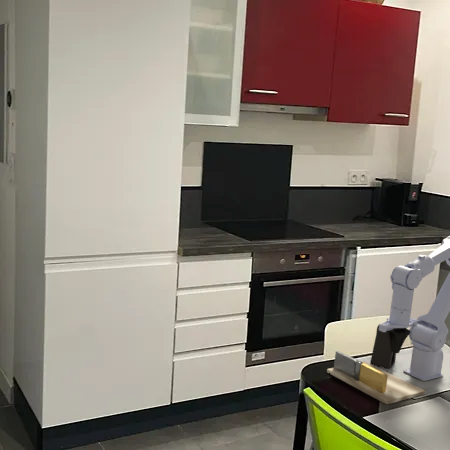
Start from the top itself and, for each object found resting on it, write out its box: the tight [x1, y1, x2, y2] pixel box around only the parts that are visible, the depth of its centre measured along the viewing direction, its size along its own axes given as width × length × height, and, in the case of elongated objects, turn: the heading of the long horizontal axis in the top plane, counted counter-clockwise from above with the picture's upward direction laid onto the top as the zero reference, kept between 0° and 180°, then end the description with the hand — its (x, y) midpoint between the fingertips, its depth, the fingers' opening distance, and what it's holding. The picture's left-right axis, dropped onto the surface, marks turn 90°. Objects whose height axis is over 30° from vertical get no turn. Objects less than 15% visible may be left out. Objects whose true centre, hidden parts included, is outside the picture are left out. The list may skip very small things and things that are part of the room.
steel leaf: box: [333, 350, 363, 381], centre depth 191 cm, size 2×10×5 cm, turn 35°
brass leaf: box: [359, 364, 388, 393], centre depth 183 cm, size 1×9×5 cm, turn 34°
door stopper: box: [369, 323, 397, 370], centre depth 205 cm, size 9×6×12 cm, turn 152°
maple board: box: [326, 360, 426, 405], centre depth 189 cm, size 16×24×1 cm
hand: (394, 352), depth 189 cm, fingers closed
